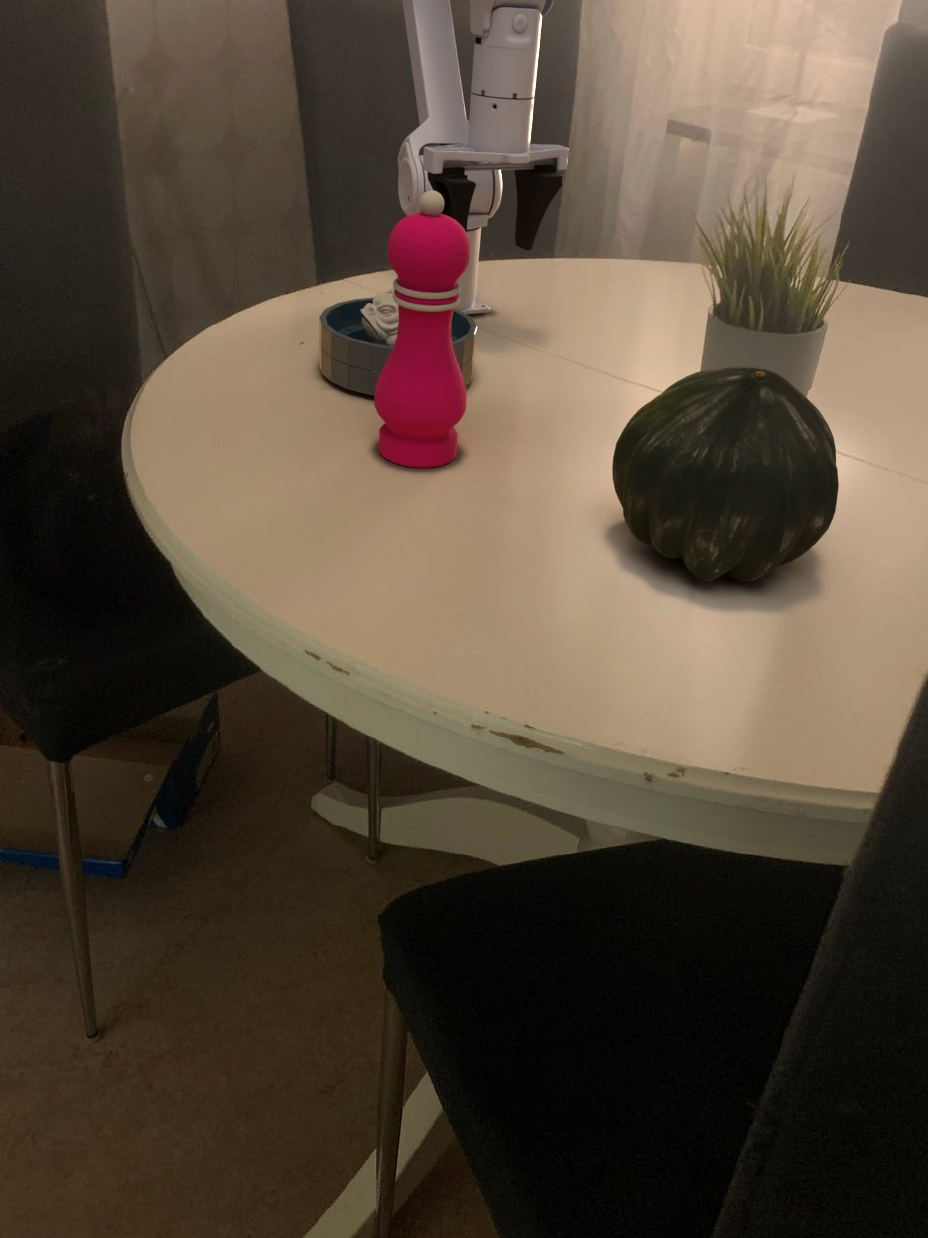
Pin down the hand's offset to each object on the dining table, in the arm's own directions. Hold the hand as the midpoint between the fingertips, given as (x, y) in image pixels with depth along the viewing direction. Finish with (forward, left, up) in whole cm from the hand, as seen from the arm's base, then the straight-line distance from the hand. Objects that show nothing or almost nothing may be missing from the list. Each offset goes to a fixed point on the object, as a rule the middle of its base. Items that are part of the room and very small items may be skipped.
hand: (490, 249), depth 104 cm
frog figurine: (+5, -12, -9) cm, 16 cm away
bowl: (+5, -12, -9) cm, 16 cm away
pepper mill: (+21, -18, -10) cm, 29 cm away
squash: (+43, -6, -10) cm, 44 cm away
